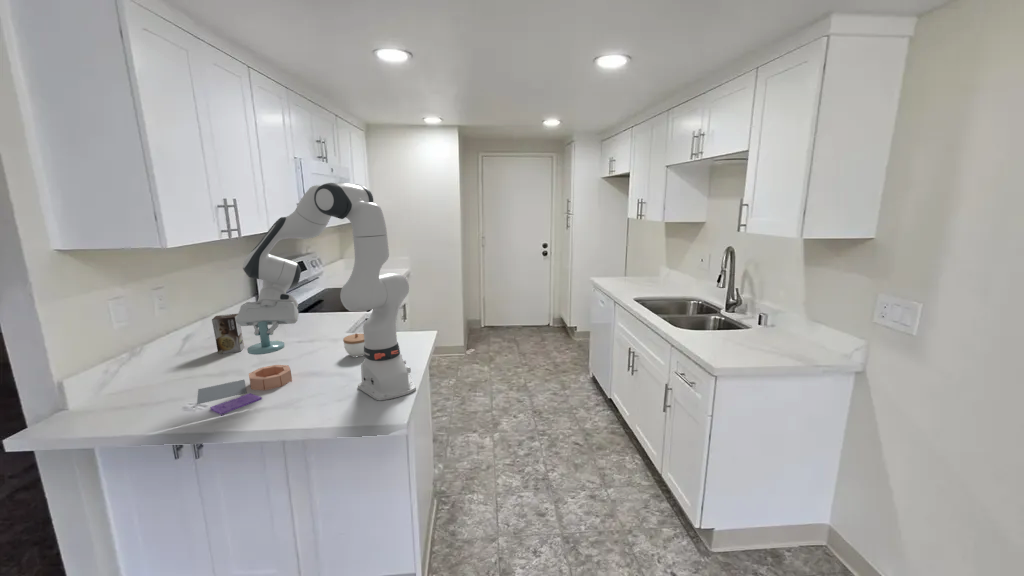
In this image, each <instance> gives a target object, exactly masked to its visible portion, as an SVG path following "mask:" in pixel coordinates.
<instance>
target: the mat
mask: <svg viewBox="0 0 1024 576" xmlns="http://www.w3.org/2000/svg"><path fill="white" fill-rule="evenodd" d="M247 392H248V391H247V387H246V381H245V379H240V380H235V381H231V382H226V383H222V384H215V385H212V386H207V387H201V388H198V391H197V401H196V402H197V405H201V404H204V403H209V402H213V401H218V400H222V399H226V398H230V397H235V396H239V395H243V394H244V395H245V394H248V393H247Z"/></svg>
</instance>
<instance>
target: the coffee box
mask: <svg viewBox="0 0 1024 576" xmlns="http://www.w3.org/2000/svg"><path fill="white" fill-rule="evenodd" d="M237 315H238V313H231V314H230V313H229V314H220V315H215V316H214V317H213V318H212V319H211V323H212V328H213V334H214V337H215V343H216V345H215V346H216V351H217V354H218V355H221V354H222V353H223V354H229V353H230V354H231V353H237V352H241V351H242V350H243V349H244V348H245V343H244V337H243V333H242V326H240V325H239V324H238V323H237V322H236V318H237ZM223 354H222V355H223Z"/></svg>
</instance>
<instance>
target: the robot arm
mask: <svg viewBox="0 0 1024 576" xmlns="http://www.w3.org/2000/svg"><path fill="white" fill-rule="evenodd" d="M332 217H334V218H336V219H339V220H343V219H347V220H349V223H350V224H351V229H352V238H353V239H352V240H353V250H354V252H353V253H354V262H353V268H352V271H351V274H350V276H349V278H348V279H347V281H346V283H344V284H343V286H342V287H341V290H340V295H339V296H340V301H341V304H342V306H343V307H344V308H345V309H346V310H347V311H349V312H367V311H369V310H372V311H371V313H370V315H369V317H367V319H366V320H365V321H364V323H363V327H362V331H363V334H364V342H365V346H364V356H363V357H364V360H363V362H361V363H360V369H361V371H360V372H361V382H360V383H358V384H357V389H358V390H360V391H362V392H363V393H365V394H367V395H368V396H370V397H371V398H373V399H374V400H376V401H385V400H390V399H392V400H393V399H396V398H398V397H403V396H405V395H408V394H409V395H410V394H411V393H413V392H415V391H416V390H417V386H416V384H415V382H414V380H413V377H412V376H411V373H412V371H411V366H406V364H407V361H406V360H404V359H403V355H402V354H401V351H400V345H399V342H398V337H397V320H398V319H397V318H398V314H399V310H400V307H401V305H402V303H403V301H404V300H405V299H406V298H407V296H408V295H409V291H410V284H409V282H408V279H407V278H406V277H405V276H404V275H403V274H401V273H397V272H395V273H394V272H387V273H381V268H382V267H383V265H384V264H385V263H386V262H387V261H389V257H390V250H389V241H388V232H387V225H386V220H385V217H384V213H383V210H382V208H381V206H380V205H378V204H377V203H374V195H373V193H372V191H370V189H368V188H367V187H366V186H363V185H362V184H352V183H348V182H327V183H323V184H321V185H320V184H318V185H317V184H316V185H315V184H314V185H311V187H309V188H308V190H307V191H306V192H305V193H304V195H303V196H302V197H301V199H300V201H299V203H297V205H296V208H295V210H294V211H293V212H292V213H290V214H289V215H286V216H281V217H279V218H278V219H277V220H276V221H275V222H274V224H273V225H272V226H271V227H270V228H269V229H268V231H267V232H266V233H265V234H264V236H263V237H262V238H261V239H260V240H259V242H258V243H257V244H256V246H255V247H254V248H253V249H252V250H251V251H250V253H248V254H247V256H246V257H245V259H244V260H243V263H242V265H243V266H242V270H243V272H244V273H245V274H246V276H247V277H248V278H251V279H255V280H262V288H261V289H260V292H259V294H258V299H257V301H251V302H250V301H247V302H246V301H245V303H243V304H241V305H240V308H239V311H238V313H237V314H238V315H237V318H236V322H237V323H238V324H239V325H240V326H241V327H250V326H251V327H253V328H254V333H253V334H254V335H255V336H260V333H259V326H258V322H261V321H267V325H268V326H270V325H271V327H269V328H268V329H267V334H268V335H269V336H273V335H274V331H275V330H277V329H278V327H279V325H293V324H296V323H297V322H298V319H299V308H298V307H299V303H298V302H297V299H295V297H294V295H292V294H288V293H287V291H288V290H291V289H292V288H295V287H296V286H297V285H298V283H299V281H300V280H301V279H300V278H301V273H302V269H301V267H300V264H299V263H297V262H295V261H293V260H290V259H286V258H283V257H281V256H276V255H273V254H270V252H271V251H272V250H273V248H274V247H275V246H276V244H277V243H278V242H279V241H282V240H285V239H301V240H307V239H313V238H316V237H318V236H320V235H321V234H322V233H323V232H324V231H325V229H326V227H327V226H328V223H329V222H330V220H331V218H332ZM380 273H381V274H380Z"/></svg>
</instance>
